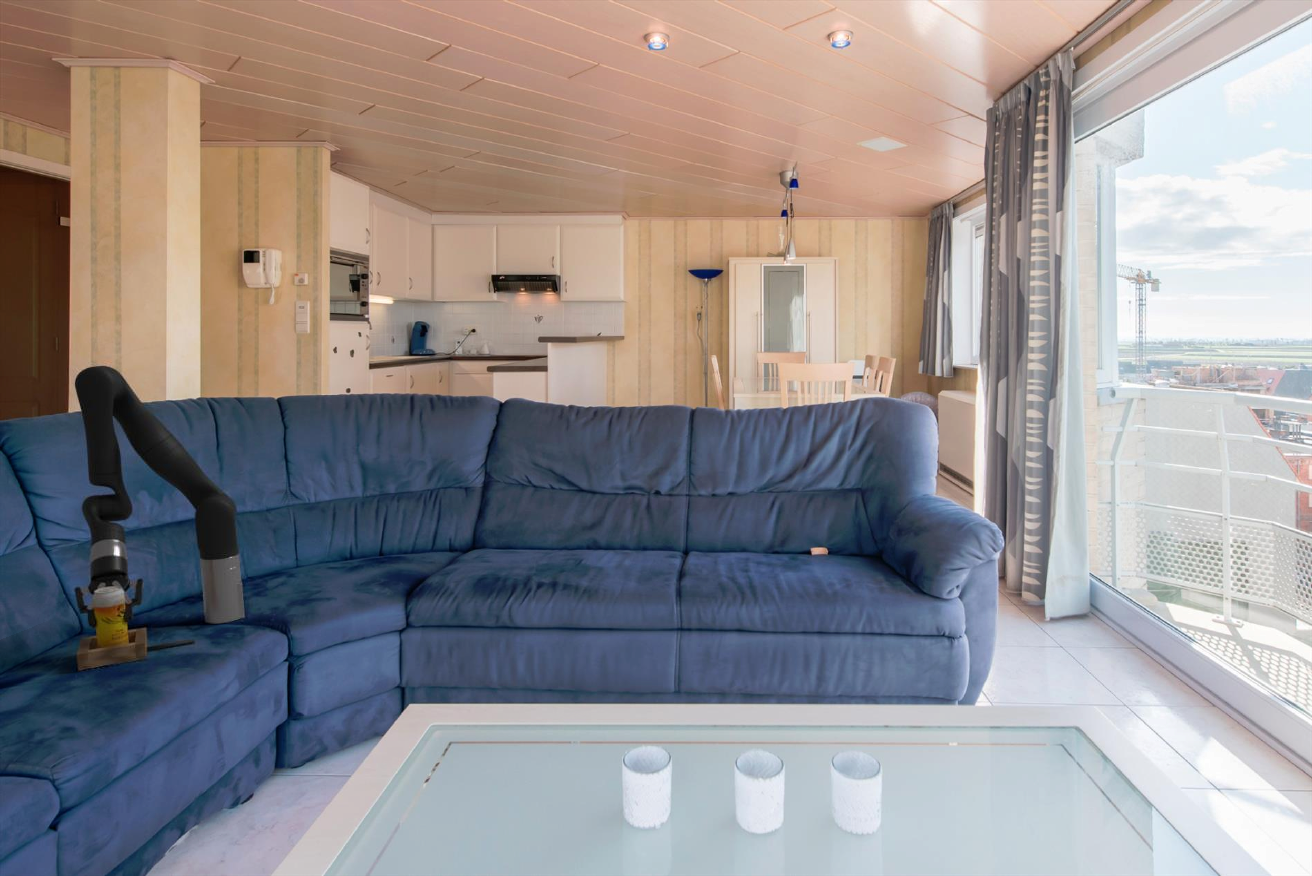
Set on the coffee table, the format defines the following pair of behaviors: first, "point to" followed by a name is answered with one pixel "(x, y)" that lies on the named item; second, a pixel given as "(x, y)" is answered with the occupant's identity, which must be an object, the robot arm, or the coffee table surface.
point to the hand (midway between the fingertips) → (110, 623)
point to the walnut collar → (117, 650)
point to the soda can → (110, 616)
